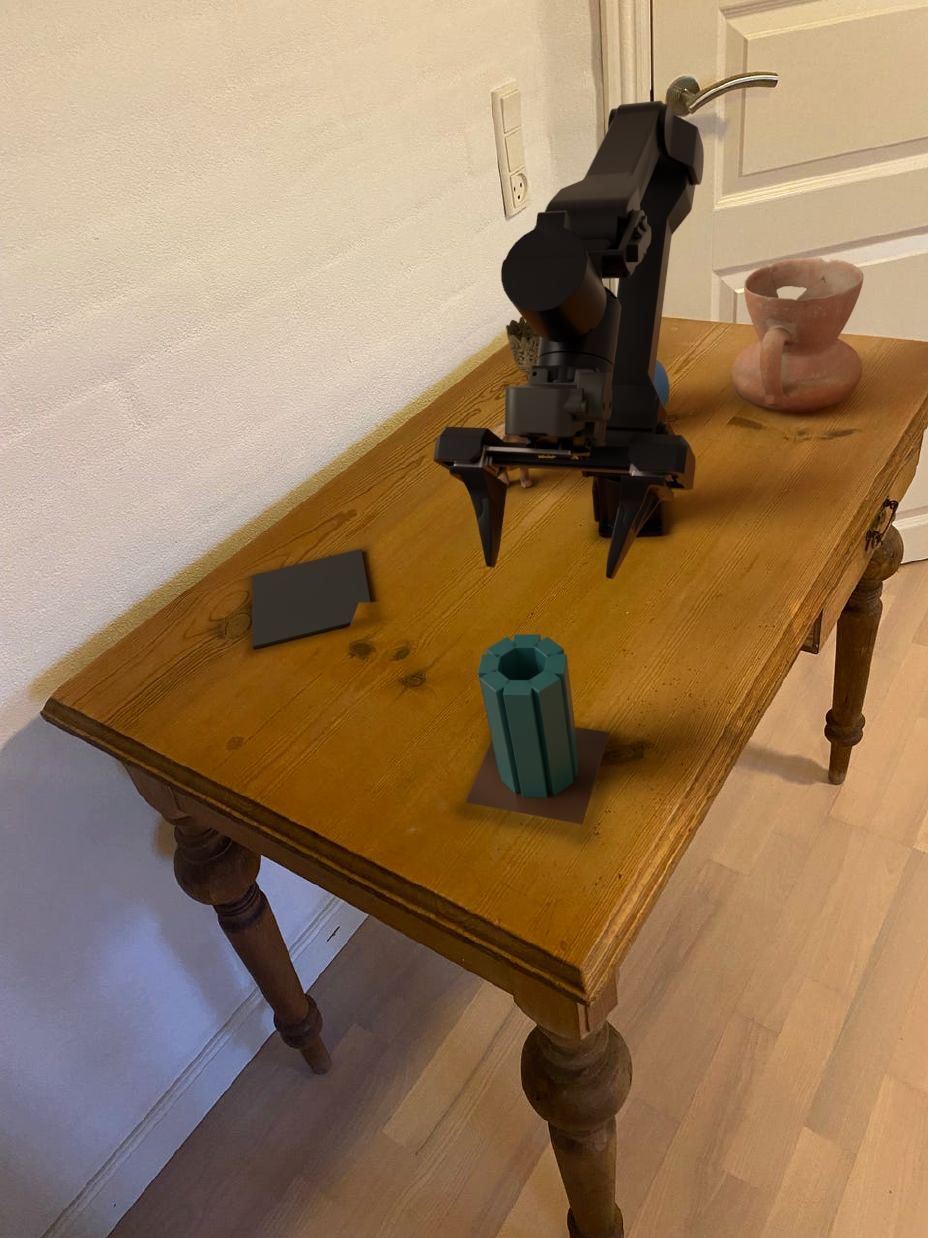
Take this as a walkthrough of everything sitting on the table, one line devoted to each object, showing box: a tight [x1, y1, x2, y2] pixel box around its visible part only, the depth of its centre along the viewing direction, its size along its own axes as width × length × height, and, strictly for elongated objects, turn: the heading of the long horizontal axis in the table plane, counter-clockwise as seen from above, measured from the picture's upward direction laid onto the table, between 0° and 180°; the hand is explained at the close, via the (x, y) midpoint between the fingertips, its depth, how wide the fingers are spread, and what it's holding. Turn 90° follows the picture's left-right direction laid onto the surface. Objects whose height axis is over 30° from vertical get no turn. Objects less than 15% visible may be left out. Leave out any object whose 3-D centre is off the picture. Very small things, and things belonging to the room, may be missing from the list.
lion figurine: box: [491, 421, 533, 489], centre depth 100 cm, size 15×5×9 cm, turn 163°
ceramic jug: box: [729, 257, 864, 413], centre depth 101 cm, size 18×14×14 cm
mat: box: [251, 548, 372, 650], centre depth 91 cm, size 12×12×1 cm
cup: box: [505, 316, 540, 383], centre depth 117 cm, size 8×7×8 cm
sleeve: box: [477, 633, 579, 798], centre depth 65 cm, size 6×6×11 cm
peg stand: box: [465, 726, 610, 826], centre depth 67 cm, size 9×9×6 cm
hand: (548, 572), depth 66 cm, fingers open, 9 cm apart
